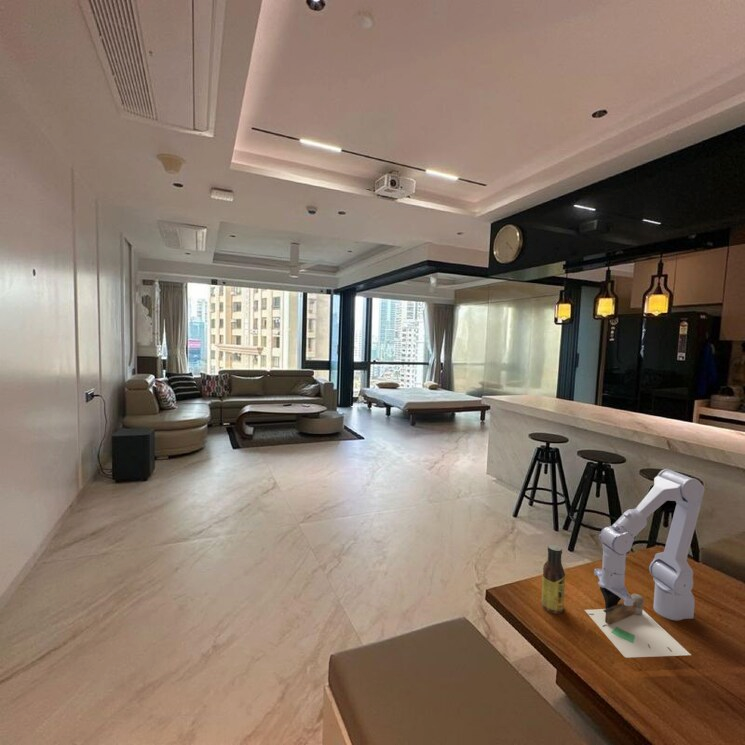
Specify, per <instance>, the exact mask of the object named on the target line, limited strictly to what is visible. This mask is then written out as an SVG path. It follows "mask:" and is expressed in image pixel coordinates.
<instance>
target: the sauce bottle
mask: <svg viewBox="0 0 745 745" xmlns="http://www.w3.org/2000/svg"><path fill="white" fill-rule="evenodd" d="M562 554H563V547H561V546H559V545H557V544H548V546H547V560H546V562H545V563H544V564H543V568H542V570H543V571H542V572H543V573H542V579H541V584H542V585H541V606H542V608H543V609H544V611H547V612H549V613H551V614H561V613H562V612H563V611H564V605H565V583H566V581H565V580H566V573H565V571H564V567H563V564H562Z"/></svg>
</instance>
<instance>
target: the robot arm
mask: <svg viewBox="0 0 745 745" xmlns="http://www.w3.org/2000/svg"><path fill="white" fill-rule="evenodd" d="M653 484H654V485H653V487H651V489H650V490H649V491H648V493H647V494H646V495H645V496H644V498H642V500H641V501H640V502H639V503H638V505H637V506H636V507H635V508H631V509H630V508H629V509H627V510H626V511H624V512H623V514H622V515H620V517H618V519H617V520H616V521H615V522H614V523H613V524H612V525H611V526H605V527H604V528H602V529H601V531H600V534H598V539H599V541H600V542H601V548H602V560H601V562H602V563H601V566H602V567H601V568H594V570H593V574H594V576H595V577H596V578H598V580H599V581H598V582H597V584H598V586H600V587H599V591H600V592H601V594H602V596H603V599H604V602H605V603H604V604H605V608H604V609H607V608H610V607H612V606H615V605H618V604H619V602H620V600H622V601H623V602H624V604H625V605H626V606H633V599H632V598H631V594H629V592H628V590H627V588H626V586H625V585H626V584H625V577H626V575H625V574H626V560H627V559H626V558H627V553H628V552H629V551H631V549H632V547H633V543H634V542H635V538H636V536H638V535H639V533H640V532H641V531H643V529H645V527H646V526H647V525H648V521H647V520H648V519H647V518H648V517H649V516H650V515H651V514H653V513H654V512H655V511H657V509H659V508H660V507H661V506H662V505H664V504H665V503H667V501H669V502H670V501H671V502H675V503H676V505H675V509H674V512H673V517H672V519H671V523H670V528H669V532H668V535H667V538H666V543H665V547H664V549H663V551H662V552H657V553H655V554H654V558H653V560H652V561H651V562H650V563H649V567H648V569H649V570H648V571H649V573H650V575H651V576H652V577H653V579H652V580H653V581H654V594H653V605H652V606H653V610H654V612H655V613H656V614H658V615H659V616H661V617H663V618H665V619H668V620H671V621H682V620H687V619H691V620H692V619H694V616H695V615H694V614H695V605H696V604H695V602H696V601H695V596H694V594H693V592H692V589H693V587H694V579H693V576H694V574H695V572H694V570H693V569H692V568H691V566H690V564H689V563H688V561H687V560H688V556H689V552H690V549H691V548H690V547H691V544H692V540H693V537H694V533H695V529H696V526H697V522H698V519H699V514H700V511H701V507H702V501H703V498H704V493H705V490H706V488H705V487H704V485H703V484H702V483H701V481H700V480H698V479H696V478H693V477H689V476H687V475H685V474H683V473H679V472H677V471H674V470H672V469H670V468H665V469H662V470H660V471H659V472H658V474H657V475H656V476H655V477H654V478H653Z"/></svg>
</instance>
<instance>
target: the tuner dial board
mask: <svg viewBox="0 0 745 745" xmlns="http://www.w3.org/2000/svg"><path fill="white" fill-rule="evenodd" d="M605 609H606V608H603V609H602V608H600V609H599V608H597V609H584V612H585V613H586V614H587V615H588V616H589V617H590V619H592V621H593V623H594V624H595V625H597V627H598V628H599V629H600V630H601V632H603V633H604V635H605V636H606V637H607V639H609V641H610V642H611V643H612V644H613V645H614V646H615V648H616V649H617V650H618V651H619V652H620V654H621V655H622V656H623V657H624V658H625V659H626V658H628V659H629V658H630V659H631V658H653V657H654V658H655V657H657V658H658V657H679V656H680V657H681V656H692V654H691V653H689V651H687V649H686V648H685V647H684V646H683V645H681V643H679V641H677V640H676V639H675V638H674V637H673V636H671V634H669V632H667V631H666V630H665V629H664V628H663V627H662V626H661V625H659V623H658V622H656V621H655V619H654V618H652V617H651V616H650V615H649V614H648V613H647V612H646V611H645V610H644V609H643V611H642V614H641V615H638V614H634V615H631V616H629V617H627V618H624V619H622V620H619V621H617V622H615V623H612V624H610V625H609V624H607V623H606V622H605V616H606V612H604V611H603V610H605Z"/></svg>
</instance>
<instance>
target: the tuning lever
mask: <svg viewBox="0 0 745 745" xmlns="http://www.w3.org/2000/svg"><path fill="white" fill-rule="evenodd" d="M630 597H631V598H632V599H633V606H626V605H625V604H624V601H623V602H621V603H618V604H617V605H615V606H612V607H610V608H607V609H606V608H604V609H605V610H603V611H604V612H606V616H605V622H606V623H607V624H609V625H610V624H612V623H615V622H617V621H619V620H622V619H624V618H627V617H629V616H631V615H634V614H638V615H641V614H642V611H643V610H644V609H643V607H644V598H643V596H642V595H640V594H638V593H631V594H630Z"/></svg>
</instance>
